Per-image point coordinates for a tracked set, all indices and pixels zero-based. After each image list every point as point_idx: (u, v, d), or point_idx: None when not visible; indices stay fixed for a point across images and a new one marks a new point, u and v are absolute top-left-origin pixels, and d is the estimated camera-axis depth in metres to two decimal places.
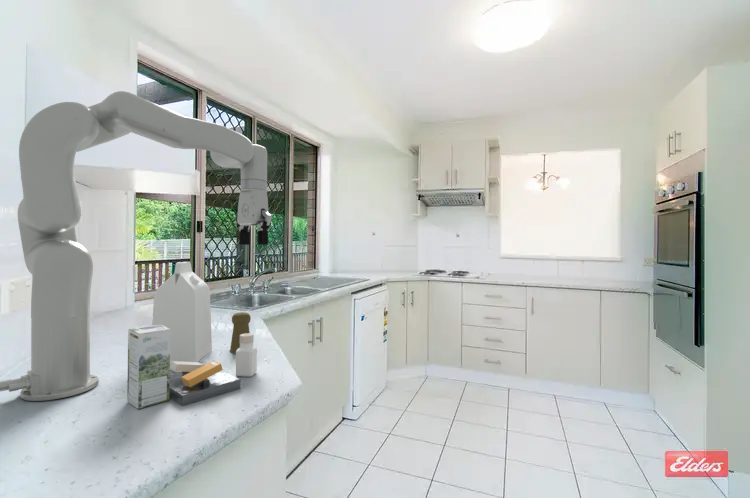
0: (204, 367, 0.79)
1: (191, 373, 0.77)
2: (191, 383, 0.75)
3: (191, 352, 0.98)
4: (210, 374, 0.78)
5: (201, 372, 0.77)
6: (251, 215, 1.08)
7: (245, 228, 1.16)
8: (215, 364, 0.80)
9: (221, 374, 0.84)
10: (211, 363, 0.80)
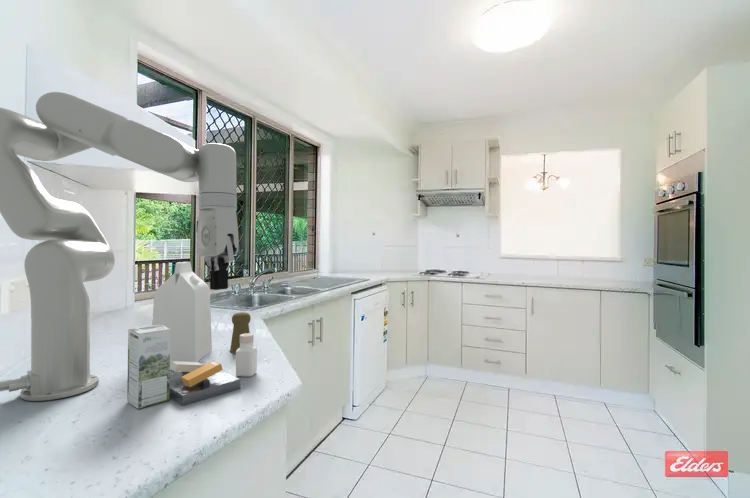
0: (204, 367, 0.79)
1: (191, 373, 0.77)
2: (191, 383, 0.75)
3: (191, 352, 0.98)
4: (210, 374, 0.78)
5: (201, 372, 0.77)
6: (213, 244, 0.76)
7: None
8: (215, 364, 0.80)
9: (221, 374, 0.84)
10: (211, 363, 0.80)
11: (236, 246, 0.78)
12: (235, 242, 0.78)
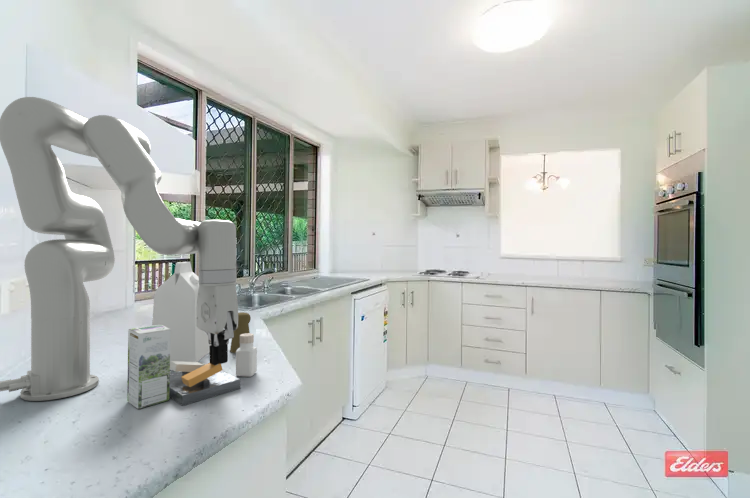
0: (204, 367, 0.79)
1: (191, 373, 0.77)
2: (191, 383, 0.75)
3: (191, 352, 0.98)
4: (210, 374, 0.78)
5: (201, 372, 0.77)
6: (213, 322, 0.76)
7: None
8: None
9: (221, 374, 0.84)
10: None
11: (236, 322, 0.78)
12: (235, 318, 0.78)
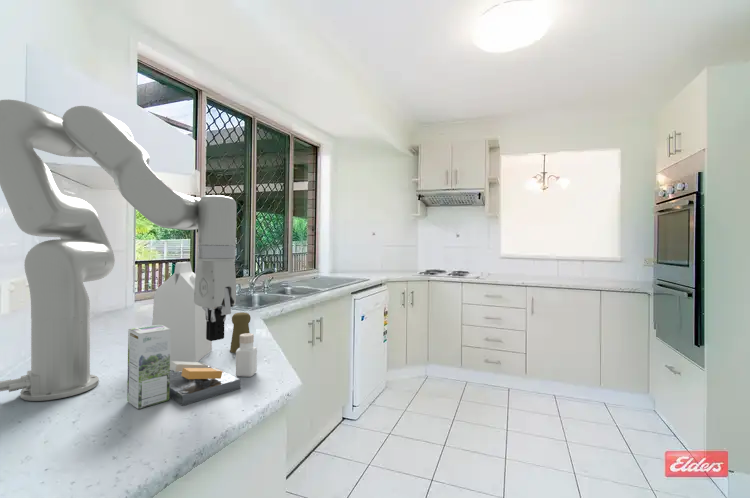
0: (206, 369, 0.79)
1: (193, 368, 0.78)
2: (191, 376, 0.75)
3: (191, 352, 0.98)
4: (209, 376, 0.78)
5: (202, 370, 0.77)
6: (210, 297, 0.76)
7: None
8: (217, 370, 0.80)
9: None
10: (213, 368, 0.81)
11: (233, 298, 0.78)
12: (233, 295, 0.78)
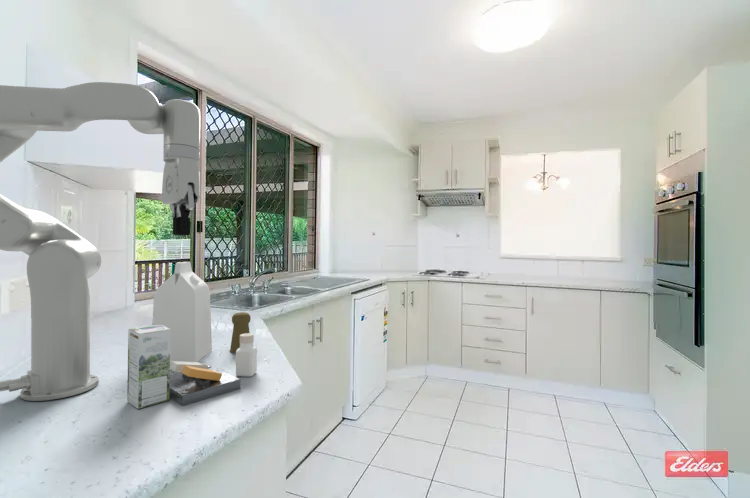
0: (206, 369, 0.79)
1: (194, 367, 0.78)
2: (191, 373, 0.75)
3: (191, 352, 0.98)
4: (209, 377, 0.78)
5: (203, 370, 0.78)
6: (175, 191, 0.83)
7: None
8: (217, 372, 0.80)
9: None
10: (213, 370, 0.81)
11: (197, 194, 0.85)
12: (196, 191, 0.85)
